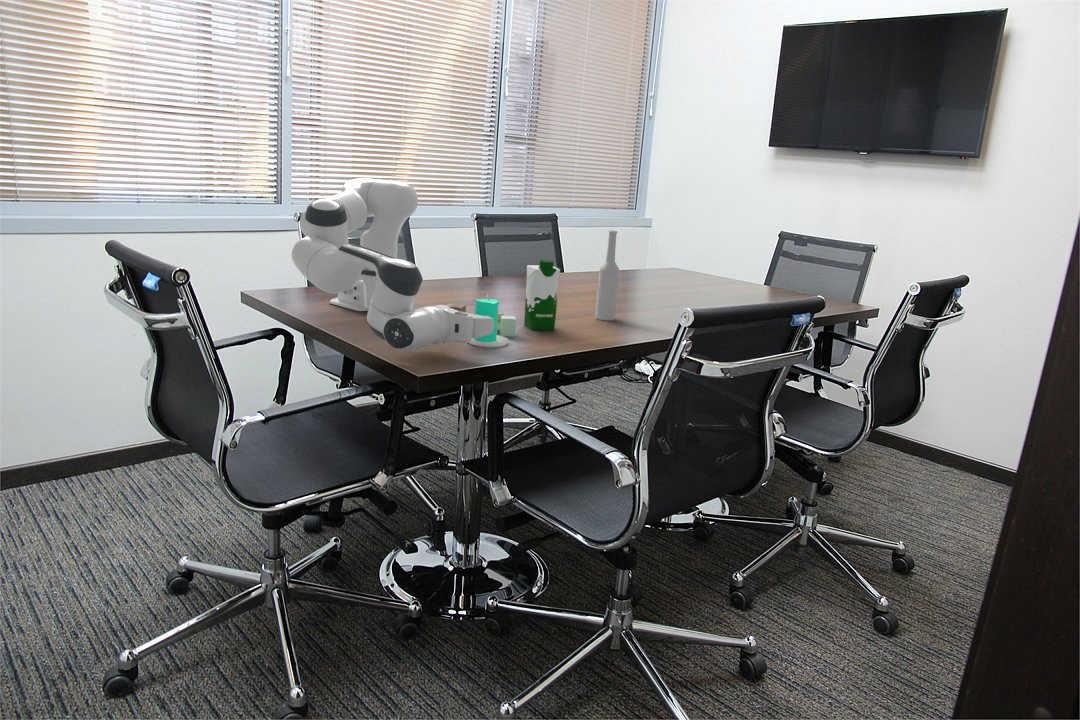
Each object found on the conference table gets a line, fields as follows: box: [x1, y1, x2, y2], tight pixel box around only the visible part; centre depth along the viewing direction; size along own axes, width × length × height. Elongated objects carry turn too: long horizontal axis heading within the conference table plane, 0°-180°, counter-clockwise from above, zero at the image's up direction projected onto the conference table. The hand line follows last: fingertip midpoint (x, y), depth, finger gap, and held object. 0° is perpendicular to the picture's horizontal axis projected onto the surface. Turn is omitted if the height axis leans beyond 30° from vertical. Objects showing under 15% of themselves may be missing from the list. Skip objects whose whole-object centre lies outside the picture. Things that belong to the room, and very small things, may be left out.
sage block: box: [499, 315, 517, 338], centre depth 213 cm, size 4×4×5 cm
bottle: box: [594, 230, 621, 322], centre depth 242 cm, size 7×7×28 cm
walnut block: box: [446, 302, 467, 313], centre depth 225 cm, size 5×5×5 cm
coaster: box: [466, 334, 509, 349], centre depth 203 cm, size 11×11×1 cm
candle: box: [474, 294, 500, 342], centre depth 200 cm, size 6×6×12 cm
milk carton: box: [523, 259, 561, 331], centre depth 223 cm, size 9×9×20 cm
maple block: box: [497, 311, 504, 332], centre depth 218 cm, size 4×6×5 cm, turn 131°
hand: (471, 315), depth 193 cm, fingers open, 8 cm apart
